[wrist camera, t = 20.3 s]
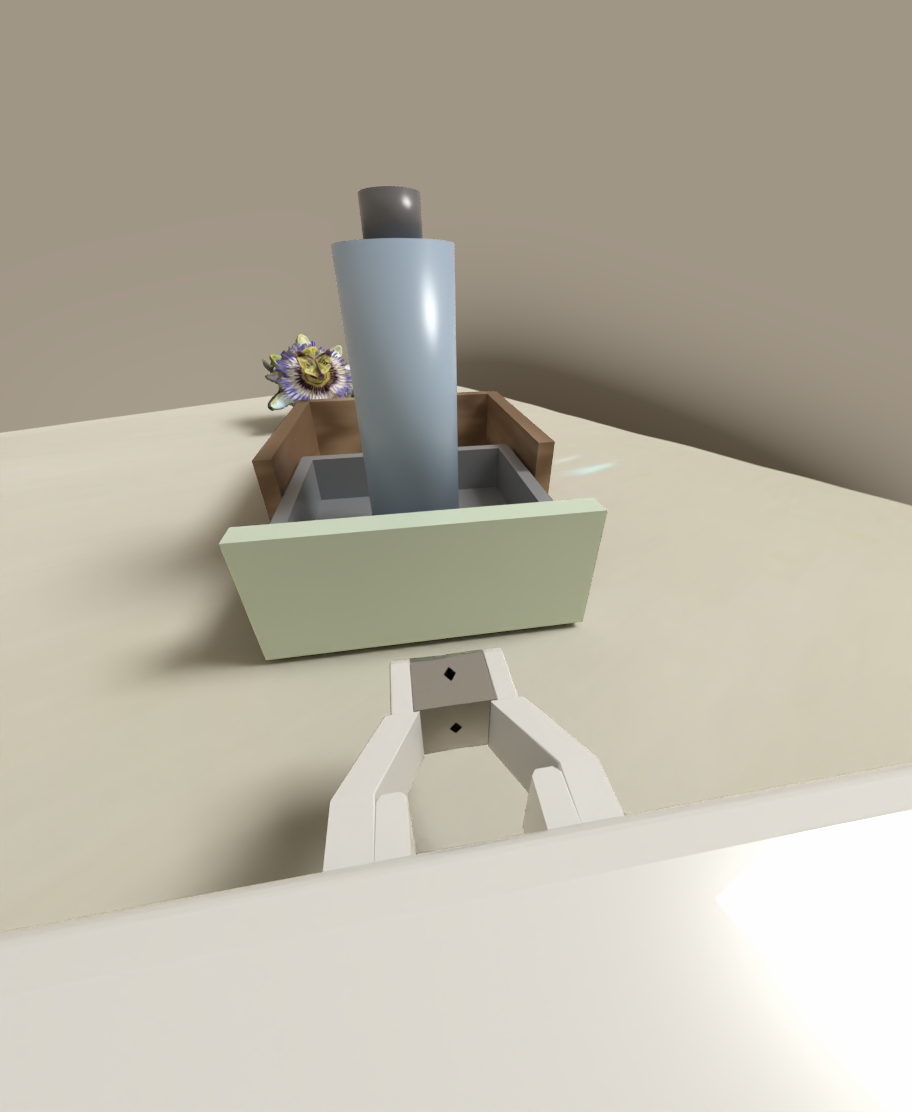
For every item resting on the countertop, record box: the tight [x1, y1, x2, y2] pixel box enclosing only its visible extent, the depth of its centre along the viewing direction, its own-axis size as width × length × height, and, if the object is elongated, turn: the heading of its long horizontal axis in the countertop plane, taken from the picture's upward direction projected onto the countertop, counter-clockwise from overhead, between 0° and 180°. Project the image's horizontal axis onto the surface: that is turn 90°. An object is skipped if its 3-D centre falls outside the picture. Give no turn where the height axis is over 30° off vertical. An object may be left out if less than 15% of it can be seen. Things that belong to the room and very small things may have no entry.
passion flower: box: [262, 334, 354, 411], centre depth 49 cm, size 11×11×12 cm
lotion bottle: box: [331, 186, 459, 516], centre depth 20 cm, size 5×5×16 cm
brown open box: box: [252, 391, 555, 521], centre depth 31 cm, size 17×15×6 cm
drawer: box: [219, 444, 607, 660], centre depth 23 cm, size 15×15×6 cm
